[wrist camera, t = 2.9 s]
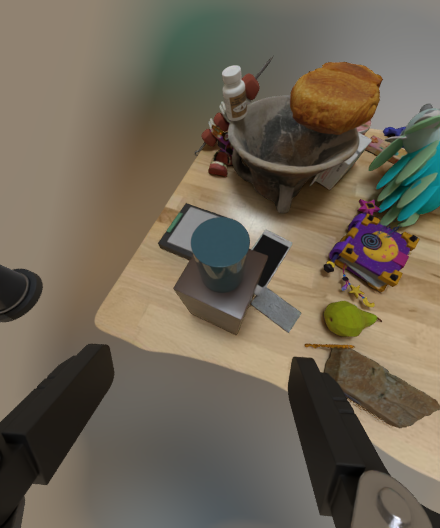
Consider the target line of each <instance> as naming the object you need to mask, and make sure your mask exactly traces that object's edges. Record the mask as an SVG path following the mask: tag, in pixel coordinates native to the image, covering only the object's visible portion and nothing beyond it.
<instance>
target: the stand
mask: <svg viewBox="0 0 440 528" xmlns="http://www.w3.org/2000/svg"><path fill="white" fill-rule="evenodd" d="M267 258H268V256H267V255H264V254H261V253H259V252H256V251H254V250H251V249H249V251H248V257H247V262H246V268H245V273H244V278H243V280H242V282H241V284H240V285H239V286H238V287H237V288H236V289H234V290H232V291H230V292H226V293H218V292H214V291H211V290H210V289H208V288H207V287H206V286H205V285H204V284H203V282H202V280H201V278H200V275H199V271H198V268H197V265H196V262H195V259H194V256H192V258H191V259H190V261H189V263H188V264H187V266H186V268H185V269H184V271H183V273H182V274H181V276H180V278H179V280H178V281H177V283H176V285H175V286H174V288H173V289H174V290H175V292H176V293H177V295H178V296H179V297H180V299H181V300H182V302H183V303H184V304H185V306H186V307H187V309H188V310H189V311H190V313H191V314H193V315H195V316H197V317H199V318H201V319H204V320H206V321H208V322H210V323H212V324H214V325H216V326H218V327H220V328H222V329H224V330H226V331H228V332H230V333H233V334H235V335H237V334H238V331H239V329H240V326H241V324H242V322H243V319H244V317H245V314H246V312H247V310H248V307H249V305H250V302H251V300H252V297H253V295H254V293H255V290H256V288H257V285H258V282H259V279H260V277H261V274H262V271H263V269H264V266H265V263H266V261H267Z"/></svg>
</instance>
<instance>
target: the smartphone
mask: <svg viewBox="0 0 440 528" xmlns="http://www.w3.org/2000/svg"><path fill="white" fill-rule="evenodd" d="M291 245H292V242H290V241H288V240H286V239H284V238H282V237H280V236H278V235H276V234H274V233H272V232H270V231H268V230H265V231H264V232H263V234H262V235H261V236H260V238H259V239H258V241H257V242H256V244H255V245H254V246H253V248H252V249H251V250H254V251H256V252H259V253H261V254H264V255H267V256H268V258H267V261H266V263H265V266H264V269H263V271H262V274H261V277H260V279H259V282H258V285H257V288H256V290H255V293H254V294H255V295H256V296H257V295H258V293H259V292H260V291H261V289H262V288H263V287H264V286H265V287H266V286H267V285H268V283H269V281H270V280H271V278H272V277H273V275H274V273H275V272H276V270H277V268H278V267H279V265H280V264H281V262H282V260H283V259H284V257H285V255H286V254H287V252H288V250H289V249H290V247H291Z"/></svg>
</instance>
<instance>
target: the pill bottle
mask: <svg viewBox="0 0 440 528" xmlns="http://www.w3.org/2000/svg"><path fill="white" fill-rule="evenodd" d="M222 76H223V82H224V84H225V85H224V87H223V96H224V102H225V107H226V113H227V118H228V119H229V120H231V121H238V120H241V119H243V118H244V117H245V116H246V115H247V102H246V91H245V83H244V82H243V81H242V80H241V78H242V77H241V69H240V67H239V66H236V65H235V66H230V67H228V68H226V69H225V70H224V71H223V72H222Z"/></svg>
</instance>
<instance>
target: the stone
mask: <svg viewBox="0 0 440 528" xmlns="http://www.w3.org/2000/svg"><path fill="white" fill-rule="evenodd" d="M334 345H335V344H334ZM325 373H328V374H329V375H330V376H331V377H332V378H333V379H334V380H335V381H336V382H337V383H338V384H339V385H340V387H341V388H342V390H343V392H344V394H345V396H347V397H348V398H350V399H351V400H353V401H354V402H356V403H358V404H360V405H361V406H363V407H364V408H366V409H367V410H369V411H370V412H372V413H373V414H375V415H377V416H378V417H380V418H381V419H383V420H384V421H386V422H387V423H388V424H390V425H392V426H395V427H398V428H402V427H407V426H411V425H413V424H414V423H415V422H416V421H417V420H420V419H422V418H423V417H424V416H429V415H431V414H432V413H433V412H435V411H437V410H440V405H439V404H438V402H437V401H436V400H435V399H433V398H432V397H430V396H429V395H427V394H425V393H424V392H422V391H420V390H418V389H416V388H414V387H413V386H411V385H408V383H407V382H405V381H403V380H402V379H400V378H398V377H396V376H394V375H391V374H389V371H388V370H387V369H385V368H384V367H382V366H380V365H379V364H378V363H376V362H375V361H373V360H371V359H369V358H367V357H366V356H363V355H361V354H360V353H358V352H356V351H355V350H352V349H351V348H342V347H341V348H338V347H334V348H332V352H331V357H330V358H329V359H328V361H327V363H326V369H325Z"/></svg>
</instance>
